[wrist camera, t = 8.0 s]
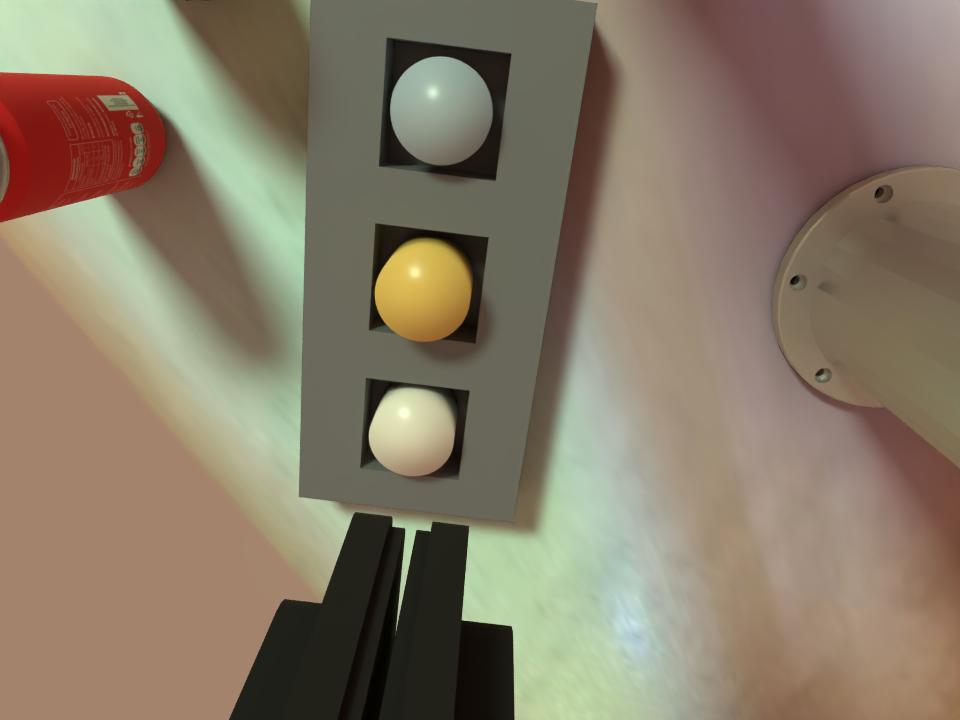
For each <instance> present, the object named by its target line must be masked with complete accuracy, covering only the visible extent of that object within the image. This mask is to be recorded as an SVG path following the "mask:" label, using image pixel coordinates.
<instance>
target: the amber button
mask: <svg viewBox="0 0 960 720" xmlns="http://www.w3.org/2000/svg"><path fill="white" fill-rule="evenodd" d="M472 287H473V271H472V266H471V264H470V261H469V259H468V257H467V256H466V254H465V253H464V251H463V250H462V249H461V248H460V247H459V246H458V245H456V244H455V243H454V242H452V241H451V240H449V239H446V238H444V237H441V236H437V235H420V236H416V237H413V238H411V239H409V240H407V241H405V242H404V243H402V244H401V245H400V246H399V247H398V248H397V249H396V250H395V251H394V253H393V254H392V256H391V257H390V259H389V260H388V262H387V263H386V265H385V266H384V267H383V269H382V271H381V272H380V274H379V276H378V279H377V282H376V286H375V302H376V306H377V309H378V312H379V314H380V316H381V318H382V319H383V321H384V322H385V323H386V325H387V326H388V327H389V328H390V329H391V330H393V331H394V332H395V333H397V334H398V335H400V336H402V337H404V338H406V339H410V340H413V341H419V342H430V341H436V340H439V339H442V338H444V337H446V336H448V335H450V334H451V333H453V332H454V331H455V330H456V329H457V328H458V327H459V326H460V325H461V324H462V322H463V321H464V319H465V317H466V315H467V313H468V310H469V305H470V299H471V293H472Z"/></svg>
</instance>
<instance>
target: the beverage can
mask: <svg viewBox="0 0 960 720" xmlns="http://www.w3.org/2000/svg"><path fill="white" fill-rule="evenodd" d="M166 147H167V134H166V129H165V125H164V123H163V120H162V118H161V116H160V114H159V113H158V111H157V110H156V108H155V107H154V106H153V104H152V103H151V102H150V101H149V100H148V99H147V98H145V97H144V96H143V95H142V94H141V93H140V92H139V91H138V90H136V89H135V88H134V87H132V86H130V85H129V84H127V83H125V82H123V81H121V80H118V79H115V78H111V77H104V76H82V75H55V74H29V73H3V72H0V222H4V221H8V220H12V219H15V218H19V217H23V216H27V215H31V214H35V213H38V212H42V211H46V210H50V209H54V208H58V207H62V206H65V205H69V204H73V203H77V202H81V201H85V200H88V199H92V198H96V197H100V196H104V195H108V194H112V193H115V192H119V191H123V190H127V189H131V188H134V187H137V186H140V185H142V184H144V183H145V182H147V181H148V180H149V179H150V178H151V177H152V176H153V175H154V174H155V173H156V171H157V170H158V168H159V167H160V164H161V162H162V160H163V158H164V155H165V152H166Z"/></svg>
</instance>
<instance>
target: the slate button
mask: <svg viewBox="0 0 960 720" xmlns="http://www.w3.org/2000/svg"><path fill="white" fill-rule="evenodd" d="M390 115H391V122H392V126H393V129H394V131H395V134H396V136H397V138H398V140H399V141H400V143H401V144H402V145H403V147H404V148H405V149H406V150H407V151H408V152H409V153H410V154H412V155H413V156H414V157H416V158H417V159H419V160H421V161H423V162H426V163H429V164H434V165H451V164H456V163H458V162H461V161H463V160H465V159H467V158H469V157H470V156H471V155H473V154H474V153H475V152H476V151H477V150H478V149H479V148H480V147H481V145H482V144H483V142H484V141H485V139H486V137H487V135H488V133H489V130H490V127H491V124H492V119H493V101H492V96H491V93H490V90H489V88H488V86H487V84H486V83H485V81H484V79H483V78H482V77H481V76H480V75H479V74H478V73H477V72H476V71H475V70H474V69H473V68H471V67H470V66H468V65H467V64H465V63H463V62H461V61H460V60H457V59H454V58H450V57H440V56H439V57H431V58H426V59H424V60H421V61H419V62H417V63H415V64H414V65H412V66H411V67H410V68H408V69H407V70H406V71H405V72H404V73H403V75H402V76H401V77H400V79H399V80H398V82H397V84H396V86H395V88H394V91H393V94H392V98H391V105H390Z"/></svg>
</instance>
